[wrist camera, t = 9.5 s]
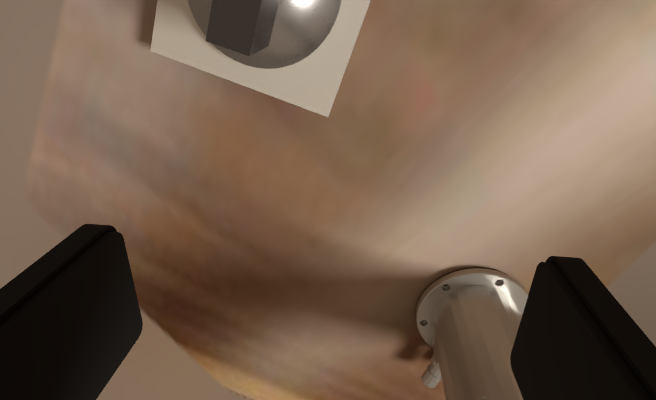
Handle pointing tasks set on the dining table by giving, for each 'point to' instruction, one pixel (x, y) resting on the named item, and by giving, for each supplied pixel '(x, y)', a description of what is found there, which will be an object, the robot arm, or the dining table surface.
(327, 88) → the dial base
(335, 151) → the dining table surface
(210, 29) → the dial
